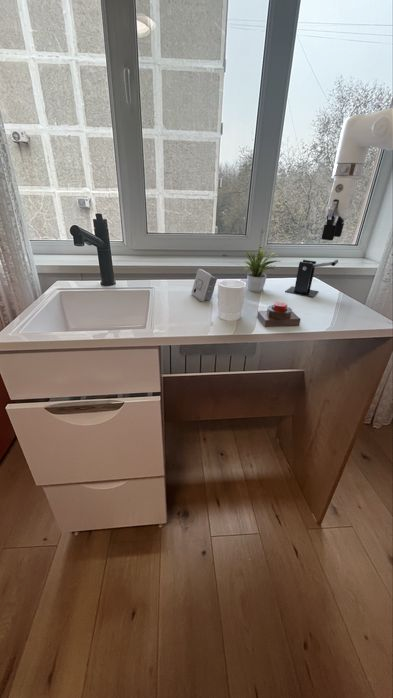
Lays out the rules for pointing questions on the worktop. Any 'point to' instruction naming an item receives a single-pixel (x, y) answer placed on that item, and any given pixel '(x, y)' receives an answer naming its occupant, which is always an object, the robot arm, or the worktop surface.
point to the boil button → (280, 306)
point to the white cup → (230, 299)
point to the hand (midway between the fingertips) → (331, 238)
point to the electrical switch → (203, 285)
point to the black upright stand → (304, 280)
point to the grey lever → (325, 264)
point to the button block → (278, 318)
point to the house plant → (258, 270)
